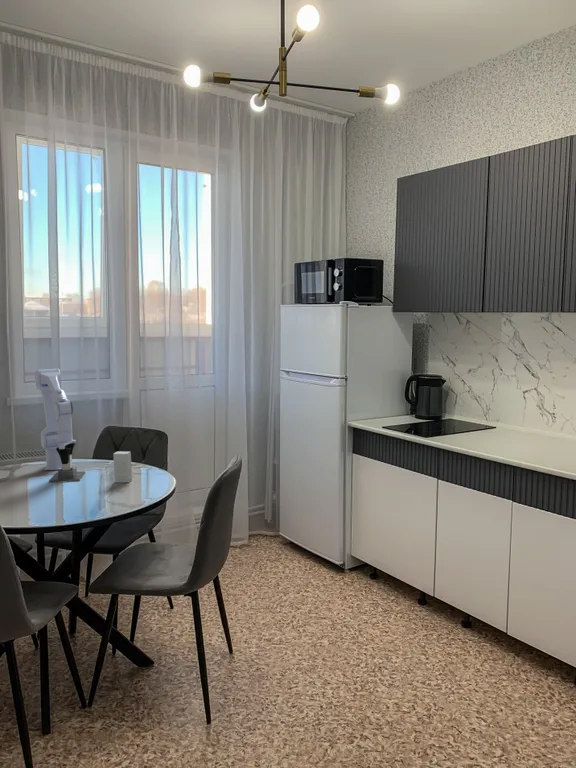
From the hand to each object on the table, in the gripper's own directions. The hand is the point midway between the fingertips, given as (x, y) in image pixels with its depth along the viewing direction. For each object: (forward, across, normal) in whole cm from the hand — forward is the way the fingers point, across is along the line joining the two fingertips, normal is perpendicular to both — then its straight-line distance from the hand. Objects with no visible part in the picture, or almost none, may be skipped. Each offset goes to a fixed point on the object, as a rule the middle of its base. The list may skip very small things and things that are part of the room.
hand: (66, 462), depth 257 cm
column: (+4, 0, 0) cm, 4 cm away
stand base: (+7, 0, 0) cm, 7 cm away
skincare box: (+7, -9, -24) cm, 27 cm away
